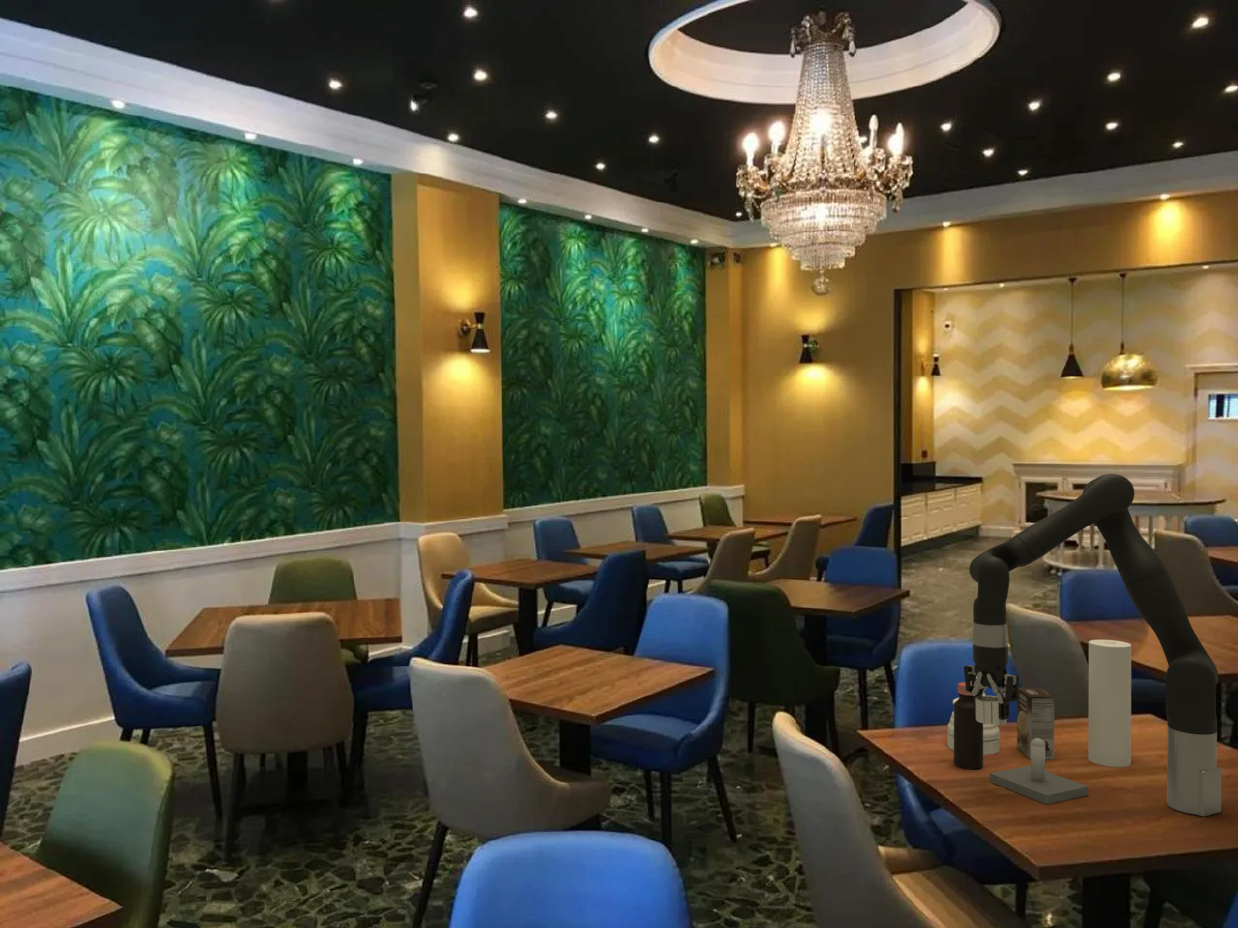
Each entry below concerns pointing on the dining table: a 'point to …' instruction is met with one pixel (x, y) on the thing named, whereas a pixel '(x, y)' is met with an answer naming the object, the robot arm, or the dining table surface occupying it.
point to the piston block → (1039, 779)
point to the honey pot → (989, 735)
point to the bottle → (967, 731)
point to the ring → (988, 710)
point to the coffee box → (1035, 720)
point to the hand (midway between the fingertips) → (991, 715)
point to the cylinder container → (1109, 703)
